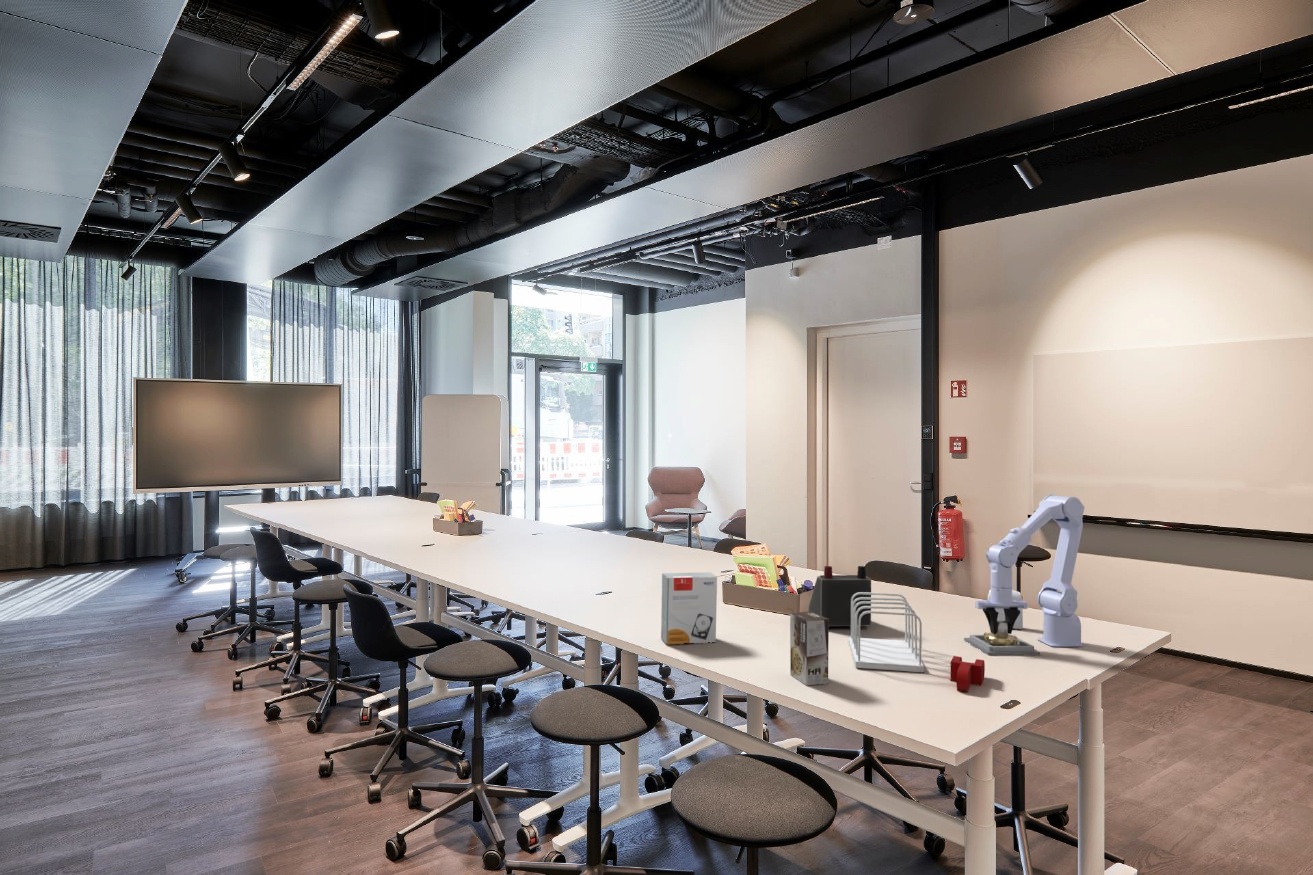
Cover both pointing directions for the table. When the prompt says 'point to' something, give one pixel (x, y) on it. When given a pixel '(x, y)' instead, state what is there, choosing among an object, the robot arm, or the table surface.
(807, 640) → the coffee box
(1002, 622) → the planet gear
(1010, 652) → the plate
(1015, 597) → the photo printer
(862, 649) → the file sorter
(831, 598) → the voltmeter
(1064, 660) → the table surface
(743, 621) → the table surface
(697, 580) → the hard drive box
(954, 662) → the mechanical linkage
